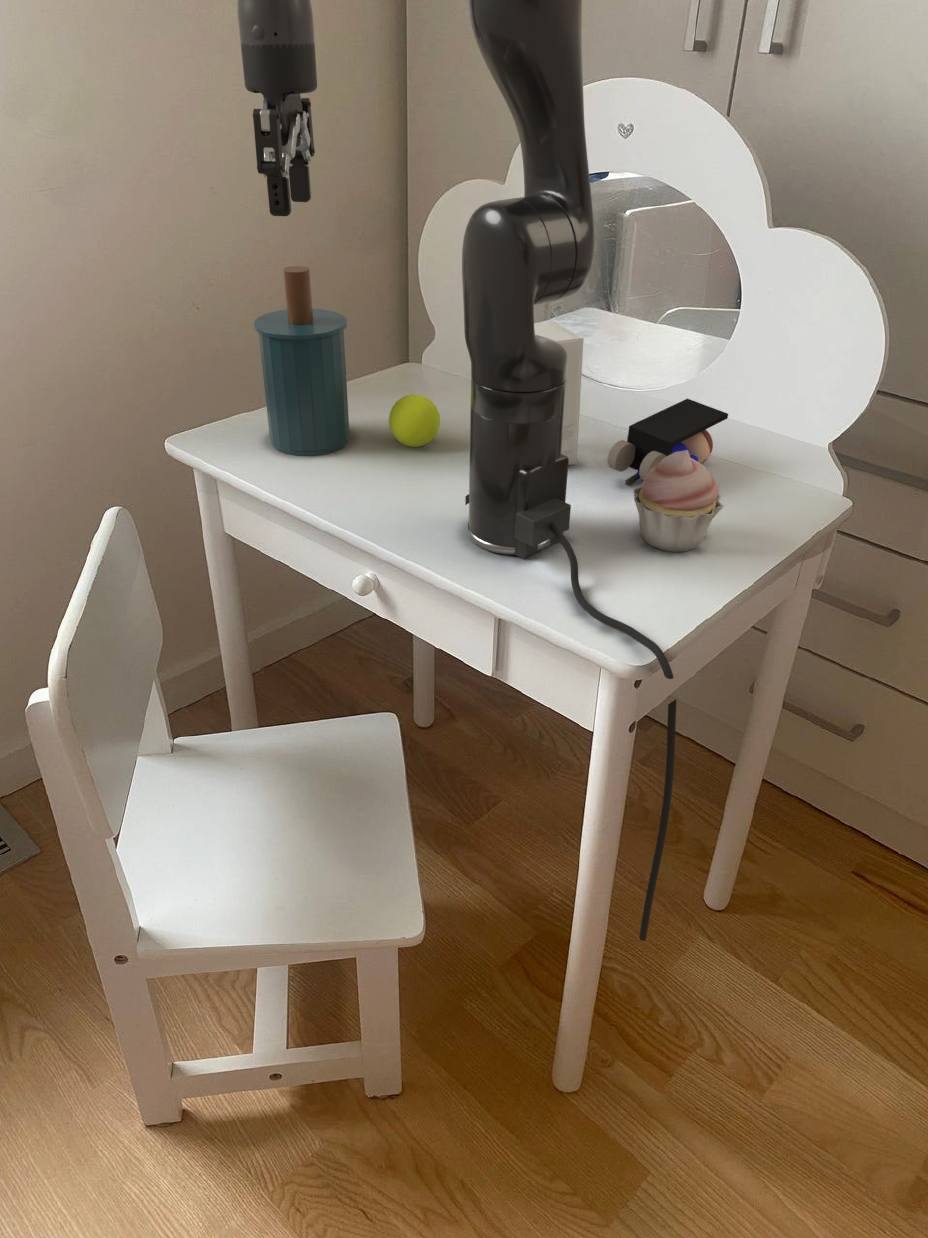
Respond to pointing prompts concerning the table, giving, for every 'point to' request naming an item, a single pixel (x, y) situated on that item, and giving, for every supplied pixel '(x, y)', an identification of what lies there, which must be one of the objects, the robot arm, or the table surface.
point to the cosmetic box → (568, 383)
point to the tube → (306, 394)
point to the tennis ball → (414, 420)
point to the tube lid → (299, 312)
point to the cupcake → (677, 503)
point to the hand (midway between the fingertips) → (291, 208)
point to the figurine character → (666, 438)
